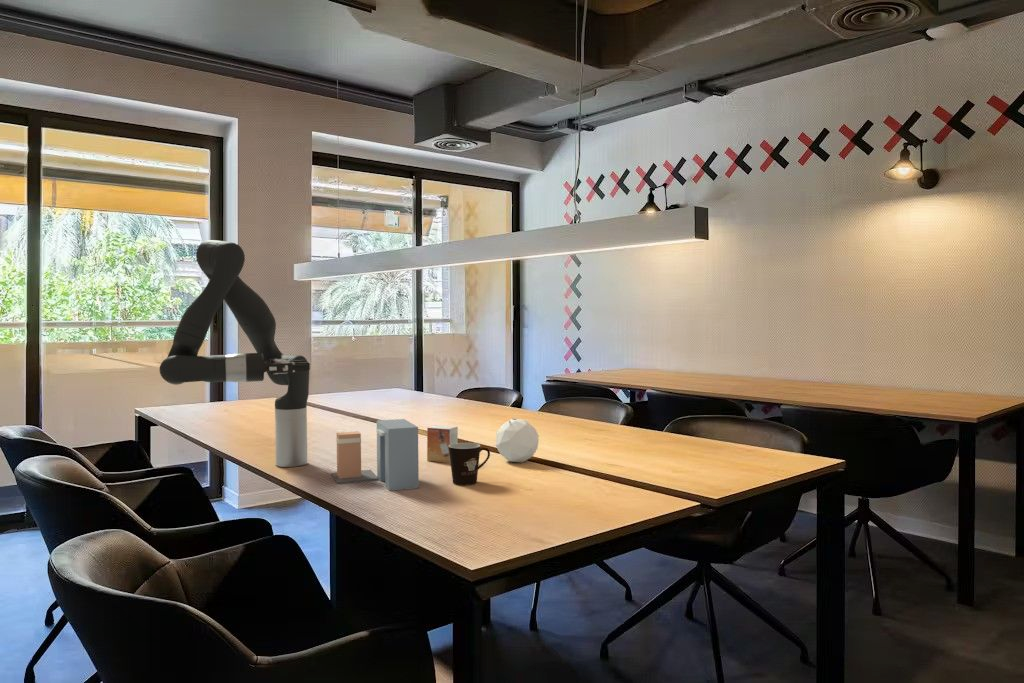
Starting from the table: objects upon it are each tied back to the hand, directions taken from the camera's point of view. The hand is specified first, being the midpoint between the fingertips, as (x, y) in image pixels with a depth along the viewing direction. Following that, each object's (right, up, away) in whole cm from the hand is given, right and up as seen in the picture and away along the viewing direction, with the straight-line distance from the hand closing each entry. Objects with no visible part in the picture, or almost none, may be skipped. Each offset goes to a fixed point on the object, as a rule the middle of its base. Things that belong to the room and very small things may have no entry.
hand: (308, 365), depth 197 cm
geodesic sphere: (+57, -31, +27) cm, 70 cm away
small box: (+34, -31, +28) cm, 54 cm away
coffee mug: (+44, -32, -1) cm, 54 cm away
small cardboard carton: (+10, -31, +5) cm, 33 cm away
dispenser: (+24, -32, -1) cm, 40 cm away
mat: (+11, -31, +6) cm, 34 cm away
